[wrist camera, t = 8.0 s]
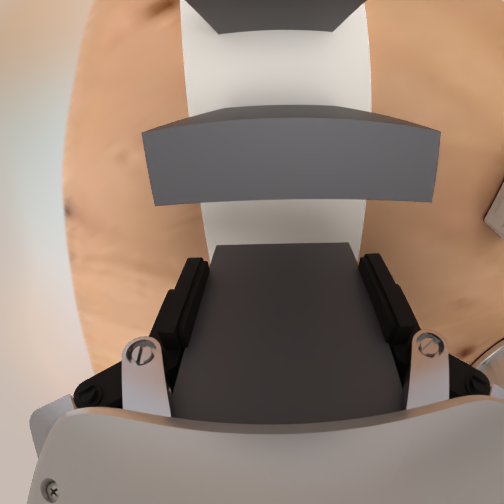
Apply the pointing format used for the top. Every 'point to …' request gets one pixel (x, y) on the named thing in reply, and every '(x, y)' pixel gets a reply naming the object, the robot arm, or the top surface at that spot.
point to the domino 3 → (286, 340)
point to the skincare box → (497, 214)
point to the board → (278, 93)
